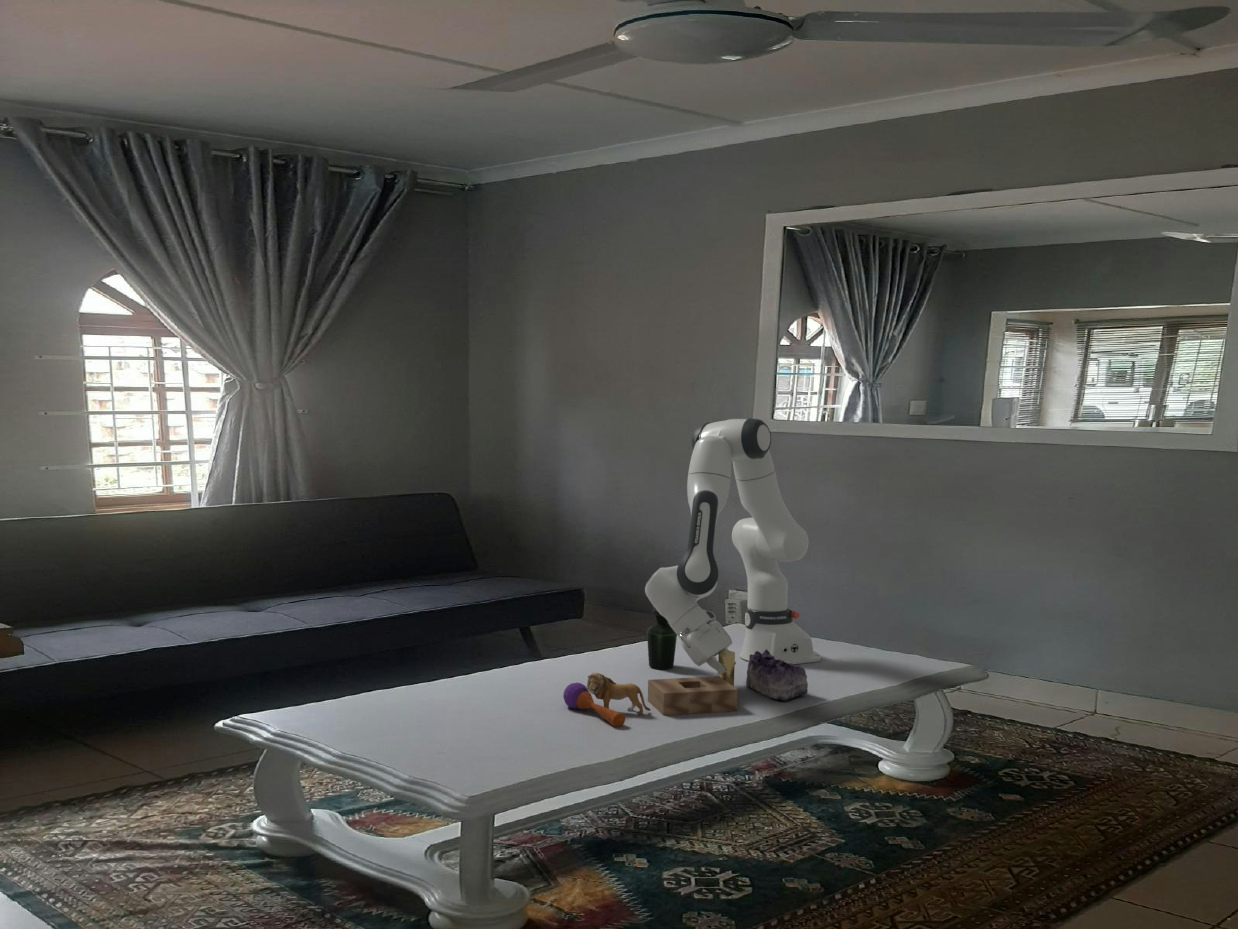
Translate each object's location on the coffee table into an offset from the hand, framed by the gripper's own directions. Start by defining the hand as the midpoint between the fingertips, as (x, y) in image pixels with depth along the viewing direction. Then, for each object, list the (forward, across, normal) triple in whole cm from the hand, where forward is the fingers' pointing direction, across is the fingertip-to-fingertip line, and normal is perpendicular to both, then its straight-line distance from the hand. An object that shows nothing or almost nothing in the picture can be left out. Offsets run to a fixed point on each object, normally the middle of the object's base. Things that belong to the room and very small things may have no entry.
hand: (728, 669), depth 263 cm
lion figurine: (-8, -28, +17) cm, 34 cm away
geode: (+11, +7, -2) cm, 13 cm away
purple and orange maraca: (-10, -33, +19) cm, 39 cm away
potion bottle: (-13, +16, +21) cm, 29 cm away
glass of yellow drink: (+4, 0, +5) cm, 6 cm away
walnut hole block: (+1, -15, +7) cm, 16 cm away
